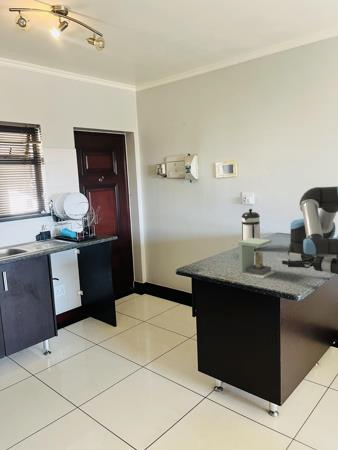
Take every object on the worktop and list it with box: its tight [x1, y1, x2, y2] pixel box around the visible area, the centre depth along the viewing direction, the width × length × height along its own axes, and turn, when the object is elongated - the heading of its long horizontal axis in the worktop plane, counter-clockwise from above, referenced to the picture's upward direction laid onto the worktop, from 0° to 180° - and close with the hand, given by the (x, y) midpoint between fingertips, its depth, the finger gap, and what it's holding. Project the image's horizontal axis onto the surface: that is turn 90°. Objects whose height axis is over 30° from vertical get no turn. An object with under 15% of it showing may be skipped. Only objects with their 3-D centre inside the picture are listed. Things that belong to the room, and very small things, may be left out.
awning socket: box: [238, 238, 276, 279], centre depth 194 cm, size 15×13×18 cm
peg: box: [254, 251, 264, 269], centre depth 195 cm, size 4×4×11 cm
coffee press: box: [241, 208, 262, 252], centre depth 251 cm, size 17×16×30 cm
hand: (283, 257), depth 184 cm, fingers open, 13 cm apart
